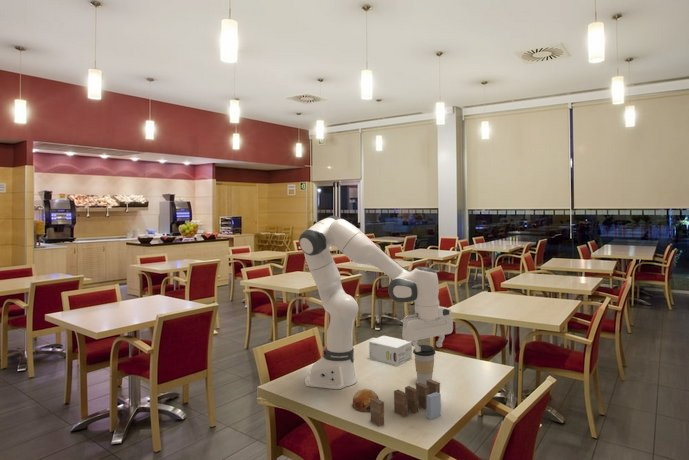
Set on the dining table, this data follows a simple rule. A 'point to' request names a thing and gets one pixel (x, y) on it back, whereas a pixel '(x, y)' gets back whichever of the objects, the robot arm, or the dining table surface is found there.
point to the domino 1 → (377, 411)
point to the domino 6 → (433, 405)
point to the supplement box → (390, 350)
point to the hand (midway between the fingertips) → (428, 349)
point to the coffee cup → (424, 363)
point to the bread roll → (363, 399)
